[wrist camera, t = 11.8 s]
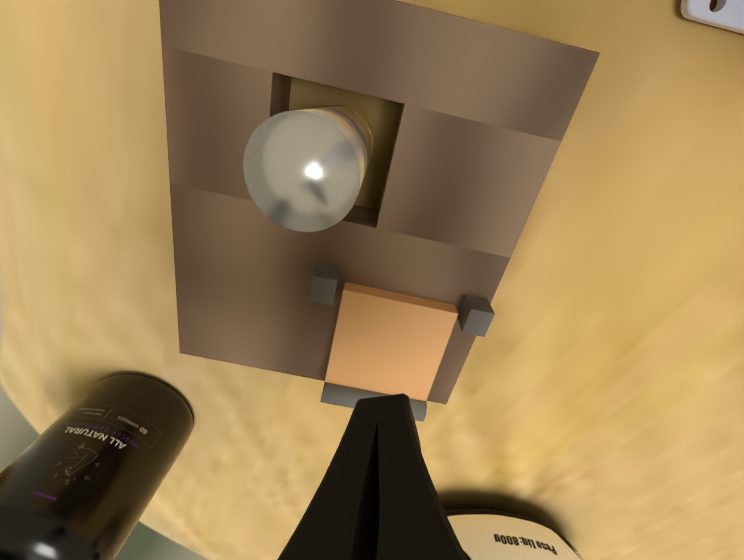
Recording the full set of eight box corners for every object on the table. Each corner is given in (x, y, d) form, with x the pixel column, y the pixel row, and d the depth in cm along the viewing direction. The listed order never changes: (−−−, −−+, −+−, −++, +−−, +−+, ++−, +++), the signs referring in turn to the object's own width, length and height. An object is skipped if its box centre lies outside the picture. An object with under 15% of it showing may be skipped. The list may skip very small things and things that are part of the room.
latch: (454, 304, 16) (461, 321, 14) (419, 404, 18) (421, 426, 17) (345, 282, 15) (341, 296, 14) (324, 386, 18) (319, 406, 16)
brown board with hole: (564, 60, 13) (622, 47, 10) (440, 371, 21) (449, 423, 17) (197, -34, 12) (128, -81, 9) (203, 324, 20) (166, 369, 17)
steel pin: (376, 108, 14) (363, 115, 8) (371, 182, 16) (357, 236, 10) (303, 103, 14) (237, 106, 8) (305, 177, 16) (249, 227, 10)
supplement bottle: (164, 361, 21) (-60, 622, 11) (213, 436, 24) (76, 698, 14) (71, 378, 22) (-220, 631, 12) (129, 447, 25) (-61, 700, 15)
